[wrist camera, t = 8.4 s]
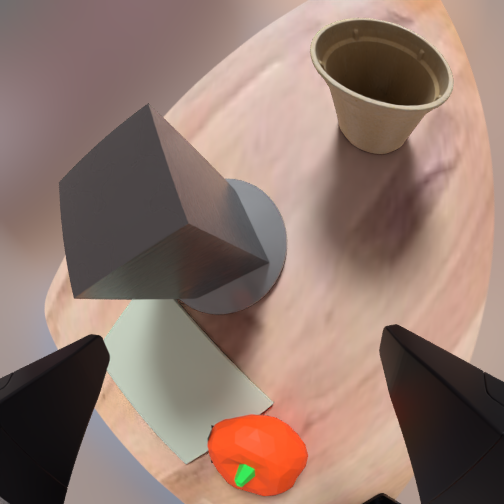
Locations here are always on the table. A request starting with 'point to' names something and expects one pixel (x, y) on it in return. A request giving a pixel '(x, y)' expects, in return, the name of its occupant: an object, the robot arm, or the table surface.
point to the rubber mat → (177, 375)
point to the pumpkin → (257, 453)
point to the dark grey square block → (152, 218)
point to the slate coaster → (261, 279)
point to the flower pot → (379, 80)
